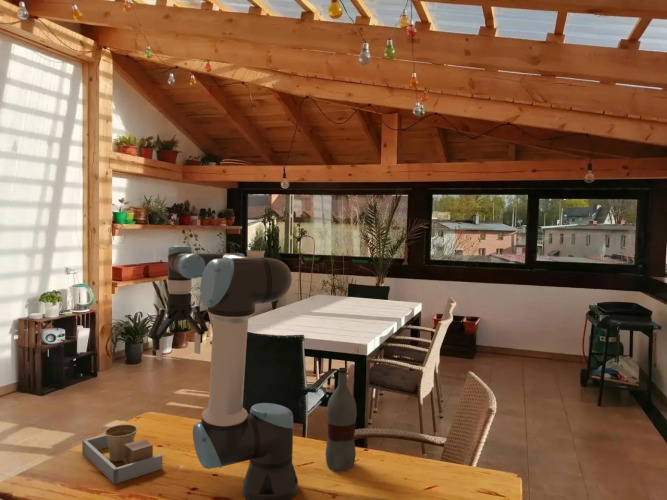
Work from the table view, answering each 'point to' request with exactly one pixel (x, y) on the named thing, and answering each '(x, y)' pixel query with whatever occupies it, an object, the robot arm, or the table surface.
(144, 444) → the walnut block
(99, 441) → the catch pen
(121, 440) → the flower pot
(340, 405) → the bottle
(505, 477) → the table surface
